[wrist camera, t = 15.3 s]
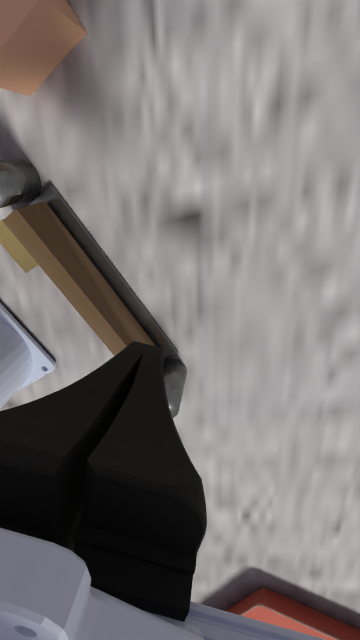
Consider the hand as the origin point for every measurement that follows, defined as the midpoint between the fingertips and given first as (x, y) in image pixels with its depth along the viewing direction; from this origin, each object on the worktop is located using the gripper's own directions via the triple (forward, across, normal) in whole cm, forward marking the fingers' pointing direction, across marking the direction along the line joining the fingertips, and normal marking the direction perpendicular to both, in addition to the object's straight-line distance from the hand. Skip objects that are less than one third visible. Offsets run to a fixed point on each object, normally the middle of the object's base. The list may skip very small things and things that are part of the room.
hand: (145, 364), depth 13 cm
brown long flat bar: (+9, +5, +2) cm, 11 cm away
